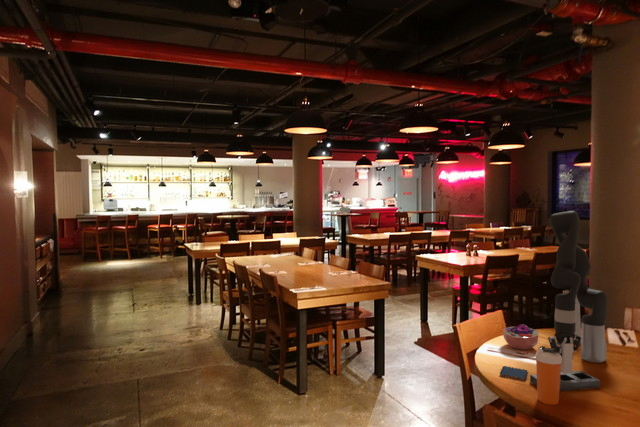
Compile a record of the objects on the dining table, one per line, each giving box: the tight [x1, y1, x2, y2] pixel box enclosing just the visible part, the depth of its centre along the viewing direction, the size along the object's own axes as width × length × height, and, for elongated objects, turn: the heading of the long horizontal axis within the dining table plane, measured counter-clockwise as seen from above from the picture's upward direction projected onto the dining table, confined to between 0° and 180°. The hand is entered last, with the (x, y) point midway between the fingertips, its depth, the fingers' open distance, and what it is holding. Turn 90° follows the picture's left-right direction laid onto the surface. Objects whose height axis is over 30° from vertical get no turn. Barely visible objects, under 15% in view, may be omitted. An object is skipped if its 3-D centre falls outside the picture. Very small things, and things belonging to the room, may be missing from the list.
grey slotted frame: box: [529, 370, 601, 392], centre depth 177 cm, size 24×10×3 cm, turn 100°
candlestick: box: [574, 295, 582, 345], centre depth 232 cm, size 13×13×30 cm
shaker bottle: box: [535, 345, 562, 406], centre depth 163 cm, size 9×9×20 cm
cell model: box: [502, 323, 539, 350], centre depth 221 cm, size 17×20×11 cm
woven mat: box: [499, 365, 529, 382], centre depth 188 cm, size 10×11×2 cm
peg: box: [558, 343, 574, 374], centre depth 177 cm, size 4×4×12 cm
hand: (564, 361), depth 177 cm, fingers closed on peg, 4 cm apart
